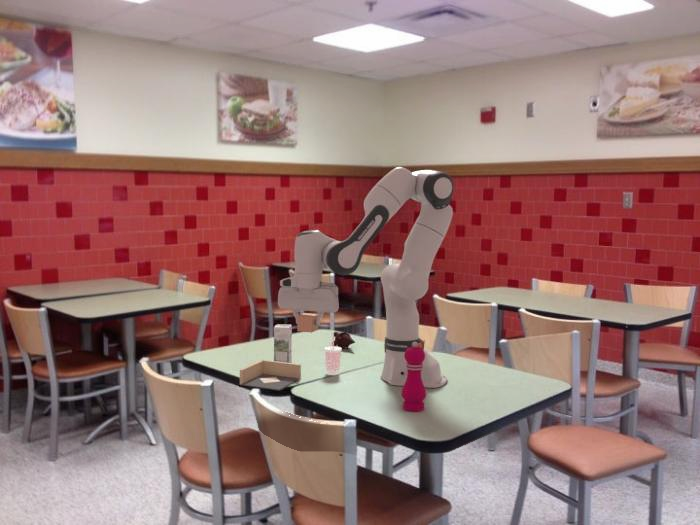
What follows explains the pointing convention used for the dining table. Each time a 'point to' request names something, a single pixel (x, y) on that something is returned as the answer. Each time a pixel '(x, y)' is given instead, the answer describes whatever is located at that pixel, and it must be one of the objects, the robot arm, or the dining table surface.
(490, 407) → the dining table surface
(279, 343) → the syrup box
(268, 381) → the arena
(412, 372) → the pepper mill
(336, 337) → the brown gnome figurine
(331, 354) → the beverage cup
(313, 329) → the cube
